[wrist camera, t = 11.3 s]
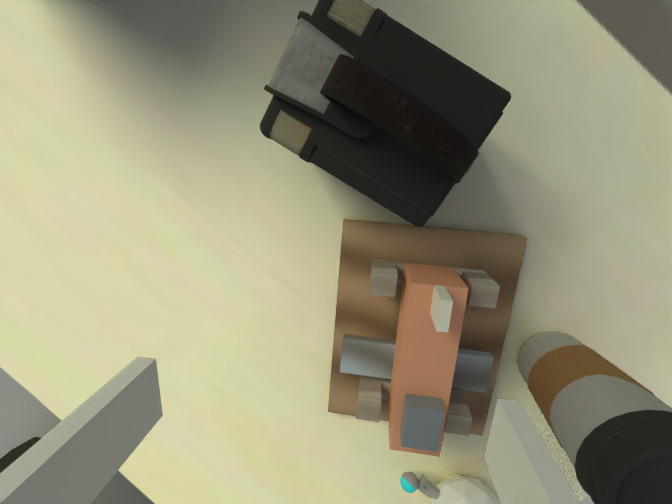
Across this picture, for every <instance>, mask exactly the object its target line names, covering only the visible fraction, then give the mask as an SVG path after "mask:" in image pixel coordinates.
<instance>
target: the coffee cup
mask: <svg viewBox="0 0 672 504" xmlns="http://www.w3.org/2000/svg"><path fill="white" fill-rule="evenodd" d="M518 367H519V371H520V373H521V374H522V376H523V378H524V380H525V381H526V383H527V385H528V388H529V390H530V392H531V394H532V395H533V397H534V399H535V401H536V403H537V404H538V406H539V408H540V410H541V412H542V413H543V415H544V417H545V419H546V420H547V422H548V424H549V426H550V428H551V429H552V431H553V433H554V435H555V436H556V438H557V440H558V442H559V444H560V445H561V447H562V448H563V449H564V450H565V452H566V454H567V455H568V457H569V459H570V461H571V462H572V464H573V466H574V468H575V470H576V476H577V479H578V481H579V483H580V484H581V486H582V488H583V490H584V491H585V492H586V493H588V494H589V495H590V497H591V499H592V500H593V502H594V503H595V504H672V408H671V407H669V406H668V405H666V404H665V403H664V402H662V401H661V400H660V399H658V398H657V397H656V396H655V395H654V394H653V393H652V392H651V391H649V390H648V389H647V388H645V387H644V386H642V385H641V384H640V383H638V382H637V381H635V380H634V379H633V378H631V377H630V376H628V375H627V374H626V373H624V372H623V371H621V370H620V369H619V368H617V367H616V366H614V365H613V364H612V363H610V362H609V361H607V360H606V359H605V358H603V357H602V356H600V355H599V354H598V353H596V352H595V351H593V350H592V349H590V348H588V347H586V346H585V345H583V344H582V343H581V342H579V341H578V340H577V339H575V338H573V337H572V336H570V335H568V334H564V333H560V332H545V333H540V334H537V335H535V336H533V337H531V338H530V339H529V340H527V341H526V342H525V343H524V345H523V346H522V347H521V350H520V352H519V356H518Z"/></svg>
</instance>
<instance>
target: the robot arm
mask: <svg viewBox="0 0 672 504" xmlns="http://www.w3.org/2000/svg"><path fill="white" fill-rule="evenodd" d="M161 417H162V406H161V398H160V389H159V381H158V372H157V364H156V359H154V358H146V357H137V358H136V359H134V360H133V361H132V362H131V363H130V364H128V365H127V366H126V367H125V368H124V369H123V370H121V371H120V372H119V373H118V374H117V375H116V376H114V377H113V378H112V379H111V380H110V381H108V382H107V383H106V384H105V385H104V386H103V387H101V388H100V389H99V390H98V391H97V392H96V393H94V394H93V395H92V396H91V397H90V398H88V399H87V400H86V401H85V402H84V403H83V404H81V405H80V406H79V407H78V408H77V409H75V410H74V411H73V412H72V413H71V414H70V415H68V416H67V417H66V418H65V419H64V420H63V421H61V422H60V423H59V424H58V425H57V426H55V427H54V428H53V429H52V430H51V431H50V432H48V433H47V434H46V435H45V436H44V437H43V438H38V437H34V438H32V439H30V440H28V441H27V442H25V443H23V444H21V445H20V446H18V447H16V448H14V449H12V450H11V451H10V452H8V453H7V454H6V455H5V456H3V457H2V458H1V459H0V504H91V502H92V501H93V500H94V499H95V498H96V496H97V495H98V494H99V493H100V491H101V490H102V489H103V488H104V486H105V485H106V484H107V483H108V481H109V480H110V479H111V478H112V477H113V475H114V474H115V473H116V472H117V471H118V469H119V468H120V467H121V466H122V464H123V463H124V462H125V461H126V460H127V458H128V457H129V456H130V455H131V453H132V452H133V451H134V450H135V449H136V447H137V446H138V445H139V444H140V442H141V441H142V440H143V439H144V437H145V436H146V435H147V434H148V433H149V431H150V430H151V429H152V428H153V426H154V425H155V424H156V423H157V422H158V420H159V419H160V418H161ZM484 459H485V462H486V465H487V467H488V470H489V473H490V475H491V478H492V481H493V484H494V486H495V489H496V492H497V495H498V497H499V500H500V503H501V504H581V503H580V501H579V499H578V498H577V496H576V494H575V493H574V491H573V489H572V488H571V486H570V484H569V483H568V481H567V479H566V478H565V476H564V474H563V473H562V471H561V469H560V468H559V466H558V464H557V463H556V461H555V459H554V458H553V456H552V454H551V453H550V451H549V449H548V448H547V446H546V444H545V442H544V441H543V439H542V437H541V436H540V434H539V432H538V431H537V429H536V427H535V426H534V424H533V422H532V421H531V419H530V417H529V416H528V414H527V412H526V411H525V409H524V407H523V406H522V404H521V402H520V401H515V400H506V399H498V400H497V404H496V408H495V413H494V417H493V421H492V426H491V430H490V434H489V439H488V443H487V448H486V452H485V456H484Z"/></svg>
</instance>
